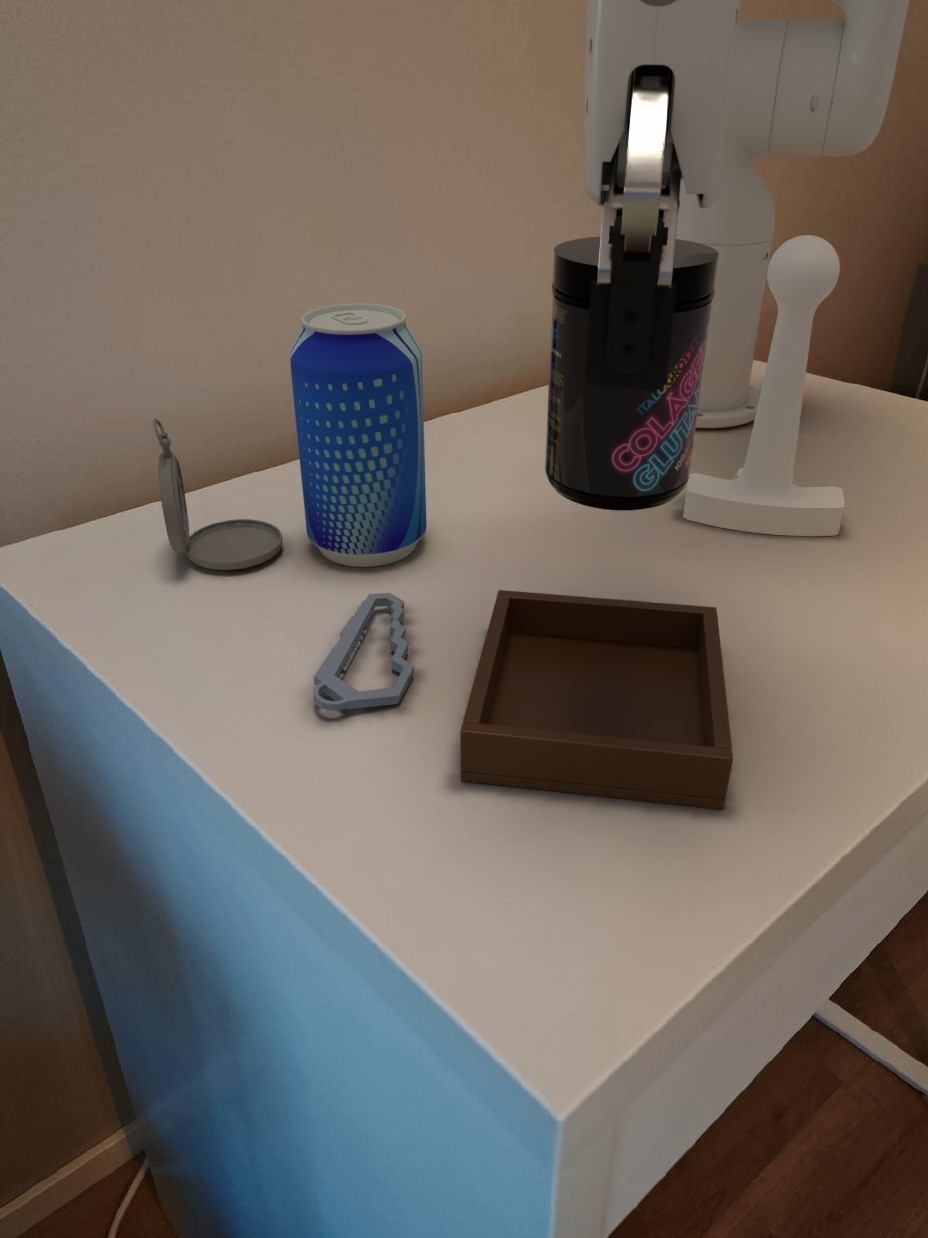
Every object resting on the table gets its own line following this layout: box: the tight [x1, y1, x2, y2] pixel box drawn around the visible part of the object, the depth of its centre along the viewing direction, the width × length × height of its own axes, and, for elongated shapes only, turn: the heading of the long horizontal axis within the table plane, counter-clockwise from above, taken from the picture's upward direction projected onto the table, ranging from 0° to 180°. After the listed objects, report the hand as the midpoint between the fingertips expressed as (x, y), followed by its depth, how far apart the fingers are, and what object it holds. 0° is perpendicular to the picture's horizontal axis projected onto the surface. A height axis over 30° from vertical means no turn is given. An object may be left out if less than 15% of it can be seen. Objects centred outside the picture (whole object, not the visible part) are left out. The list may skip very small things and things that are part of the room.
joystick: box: [682, 234, 846, 537], centre depth 68 cm, size 11×8×20 cm
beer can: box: [289, 302, 427, 568], centre depth 64 cm, size 8×8×16 cm
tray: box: [459, 589, 734, 810], centre depth 51 cm, size 14×13×3 cm
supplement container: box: [544, 235, 719, 512], centre depth 42 cm, size 7×7×10 cm
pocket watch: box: [153, 418, 283, 571], centre depth 65 cm, size 8×8×10 cm
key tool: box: [312, 592, 415, 712], centre depth 56 cm, size 12×1×5 cm
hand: (627, 355), depth 42 cm, fingers closed on supplement container, 6 cm apart
